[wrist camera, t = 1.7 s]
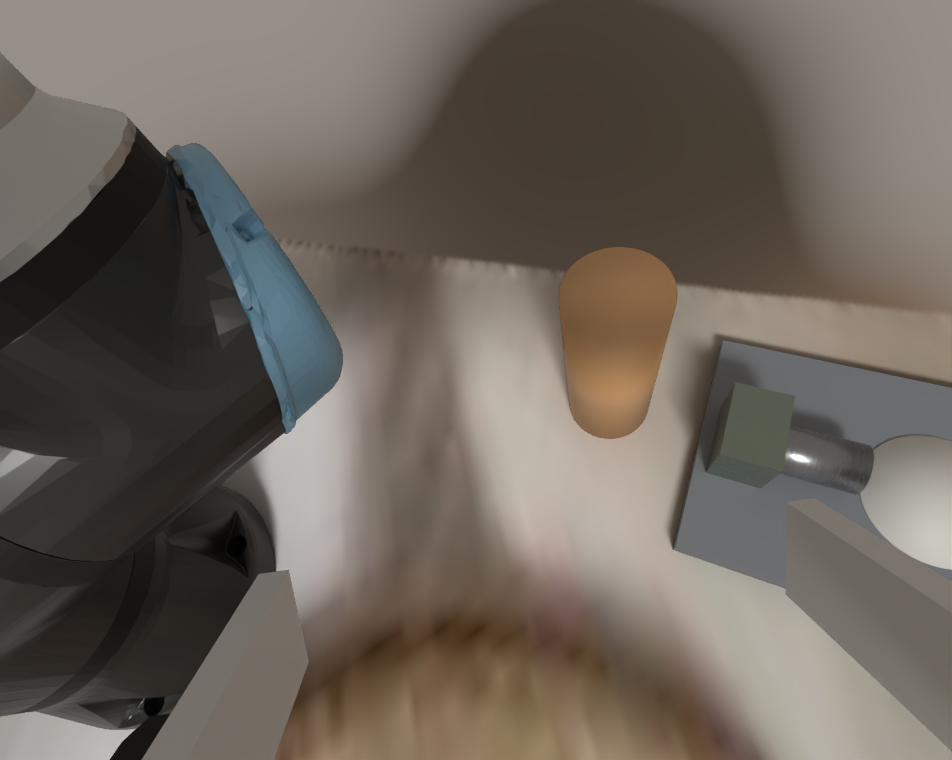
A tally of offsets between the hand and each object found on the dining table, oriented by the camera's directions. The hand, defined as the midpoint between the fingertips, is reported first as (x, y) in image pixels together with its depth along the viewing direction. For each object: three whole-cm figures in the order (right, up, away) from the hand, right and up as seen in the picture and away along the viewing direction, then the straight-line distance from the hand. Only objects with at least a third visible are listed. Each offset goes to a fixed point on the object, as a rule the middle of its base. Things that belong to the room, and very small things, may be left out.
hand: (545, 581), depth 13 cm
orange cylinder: (+7, +4, +21) cm, 23 cm away
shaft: (+16, +1, +17) cm, 23 cm away
